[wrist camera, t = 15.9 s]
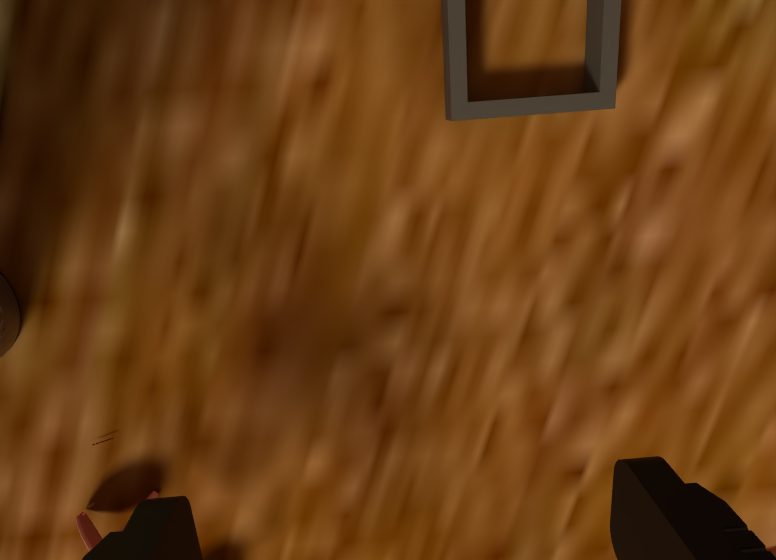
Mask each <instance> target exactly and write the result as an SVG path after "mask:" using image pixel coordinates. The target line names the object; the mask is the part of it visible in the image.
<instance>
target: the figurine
mask: <svg viewBox="0 0 776 560" xmlns="http://www.w3.org/2000/svg"><path fill="white" fill-rule="evenodd" d="M111 439H113V438H111ZM108 440H110V439H108ZM105 441H107V440H105ZM102 442H104V441H102ZM99 443H101V442H99ZM96 444H98V443H96ZM93 445H95V444H93ZM157 496H158V493H157V492H156V491H153V492H152V493H151V494H150V495H149V496H148V498H147V499H154V498H157ZM128 521H129V520H128ZM76 522H77V527H78V530H79V532H80V534H81V537H82V539H83V541H84V542H85V544H86V546H87V548H88V550H89V551H91V550H92V549H93V548H94V547H95V546H96V545H97V544H98V543H99V542H100V541H101V540H102V538H101V536H100V534H99V533H98V531H97V530H96V528H95V527H94V525H93V523H92V522H91V520H90V519H89V517H88V516H87V514H86V513H85V512H82V513H81V514H80V515H79V516H77V517H76ZM127 523H128V522H127ZM127 523H126V524H127ZM126 524H125V525H124V526H123V528H122V529H121V530H120V531H123V530H124V528H125V526H126Z"/></svg>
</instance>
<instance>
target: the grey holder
mask: <svg viewBox="0 0 776 560" xmlns="http://www.w3.org/2000/svg"><path fill="white" fill-rule="evenodd" d="M441 3H442V30H443V57H444V84H445V111H446V120H450V121H457V120H470V119H483V118H496V117H509V116H522V115H535V114H548V113H561V112H574V111H587V110H600V109H613V108H615V102H616V85H617V67H618V50H619V32H620V15H621V0H587V24H586V49H585V75H584V93H577V94H564V95H551V96H538V97H525V98H512V99H498V100H485V101H472V102H468V97H467V57H466V16H465V0H441Z"/></svg>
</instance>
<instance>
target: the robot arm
mask: <svg viewBox="0 0 776 560" xmlns="http://www.w3.org/2000/svg"><path fill="white" fill-rule="evenodd" d="M19 328H20V312H19V307H18V302H17V300H16V298H15V295H14V293H13V290H12V289H11V287H10V286H9V284H8V283H7V281H6V280H5V278H4V277H3V276H2V275H1V274H0V357H2V356H3V355H4V354H5V353H6V352H7V351H8V350H9V349H10V348H11V346H12V345H13V343H14V342H15V340H16V338H17V334H18V331H19ZM610 533H611V539H612V544H613V548H614V551H615V554H616V557H617V559H618V560H776V557H775V556H774V555H773V554H772V553H771V552H770V551H767V550H766V548H765V545H764V544H763V543H762V542H761V541H760V539H759V538H758V537H757V536H756V535H755V534H754V533H753V532H752V531H749V530H748V528H747V525H746V524H745V523H744V522H743V521H742V519H741V518H740V517H739V516H738V515H737V514H736V513H735V512H734V511H733V510H732V508H731V507H730V506H729V505H728V504H727V503H726V502H725V501H724V500H722V499H720V498H719V497H717V496H716V495H714V494H713V493H711V492H710V491H708V490H707V489H705V488H704V487H702V486H700V485H699V484H697V483H687V484H685V483H684V482H683V481H682V480H681V479H680V477H679V476H678V475H677V474H676V473H675V471H674V470H673V469H672V468H671V467H670V465H669V464H668V463H667V462H666V461H665V460H664V459H663V458H661V457H658V456H656V457H645V458H633V459H621V460H618V461H617V462H616V463H615V466H614V475H613V490H612V504H611V518H610ZM82 560H203V559H202V554H201V550H200V545H199V541H198V537H197V532H196V528H195V523H194V519H193V515H192V510H191V506H190V503H189V500H188V499H187V497H185V496H177V497H165V498H154V499H144V500H142V501H141V502H140V503H139V504H138V505H137V507H136V509H135V510H134V512H133V514H132V516H131V517H130V519H129V521H128V523H127V524H126V526H125V528H124V530H123V531H118V532H110V533H109V534H108V535H107V536H106V537H105V538H103V539H102V540H101V541H100V542H99V543H98V544H97V545H96V546H95V547H94V548H93V549H92V550H91V551H89V552H88V553H87V554H86V555H85V556H84V557H83V559H82Z"/></svg>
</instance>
